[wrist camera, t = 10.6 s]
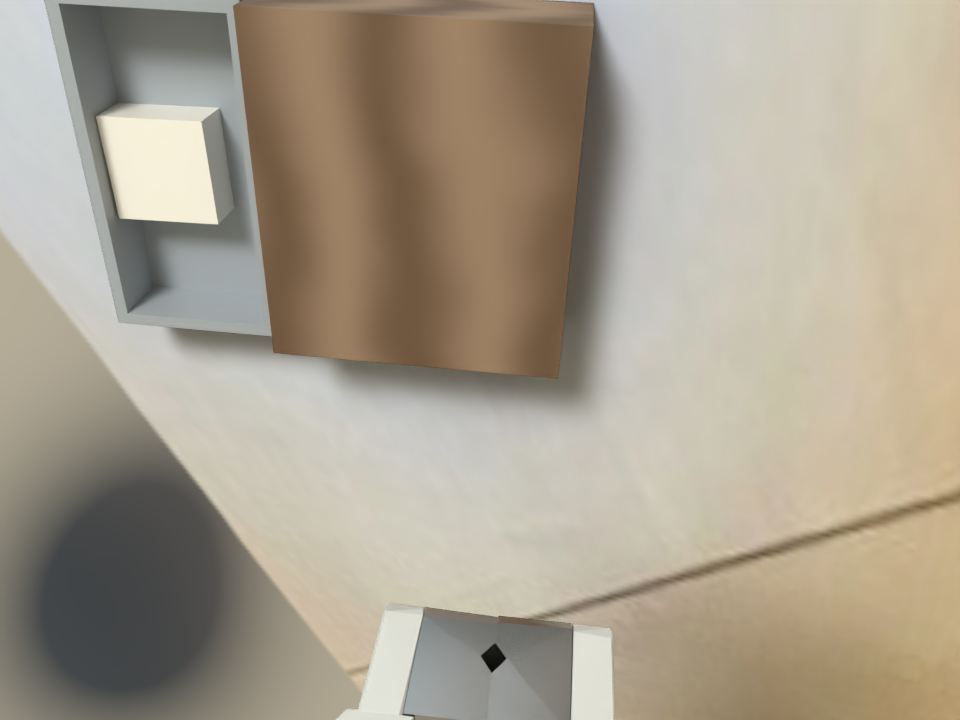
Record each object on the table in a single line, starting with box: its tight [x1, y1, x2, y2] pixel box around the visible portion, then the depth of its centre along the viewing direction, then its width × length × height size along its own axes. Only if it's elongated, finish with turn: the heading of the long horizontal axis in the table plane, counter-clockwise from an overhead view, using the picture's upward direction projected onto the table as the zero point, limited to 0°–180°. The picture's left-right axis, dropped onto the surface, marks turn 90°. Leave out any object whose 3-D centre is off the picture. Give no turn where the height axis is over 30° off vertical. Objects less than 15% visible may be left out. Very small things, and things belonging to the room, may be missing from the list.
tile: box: [96, 103, 234, 224], centre depth 40 cm, size 5×5×2 cm
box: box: [44, 0, 272, 336], centre depth 40 cm, size 8×16×4 cm, turn 178°
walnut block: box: [233, 0, 594, 379], centre depth 38 cm, size 14×16×5 cm
